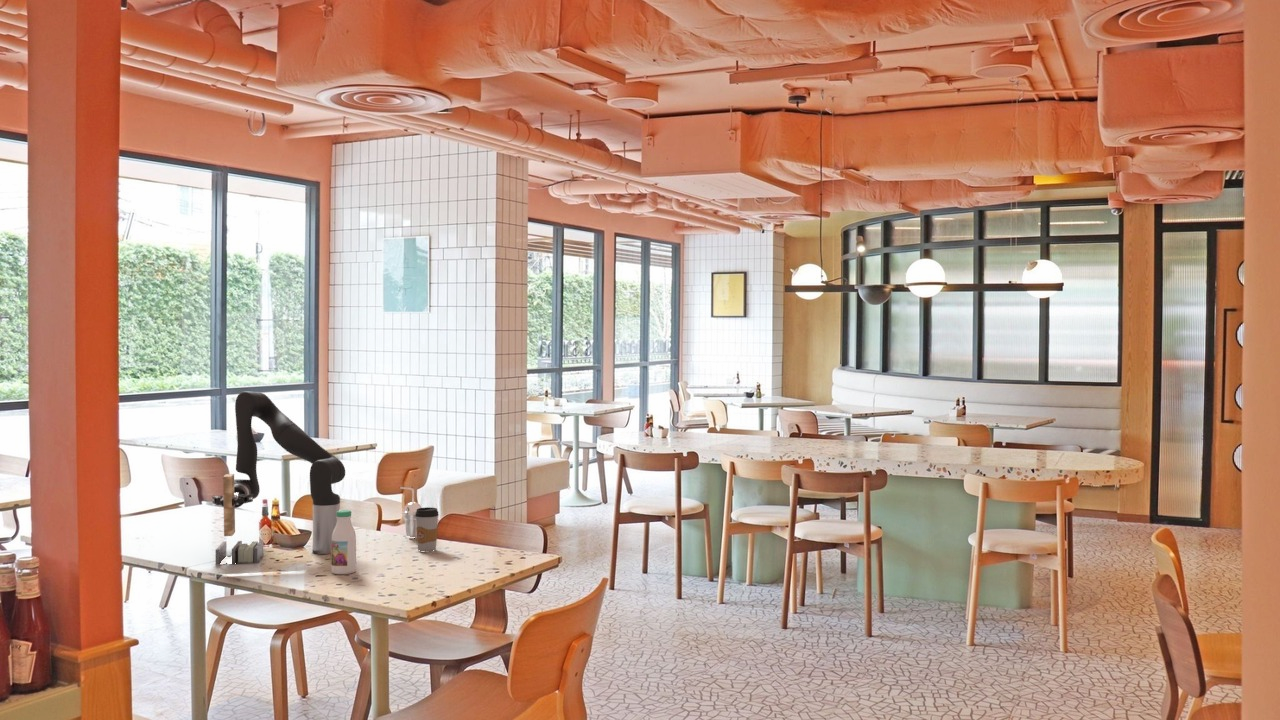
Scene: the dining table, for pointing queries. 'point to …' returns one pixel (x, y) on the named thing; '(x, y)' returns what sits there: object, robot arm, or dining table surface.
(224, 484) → the oak block
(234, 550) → the sheet rack
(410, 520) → the cup with straw
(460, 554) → the dining table surface
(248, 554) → the pale green grooved block
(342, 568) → the milk bottle
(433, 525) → the coffee cup
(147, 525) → the dining table surface
